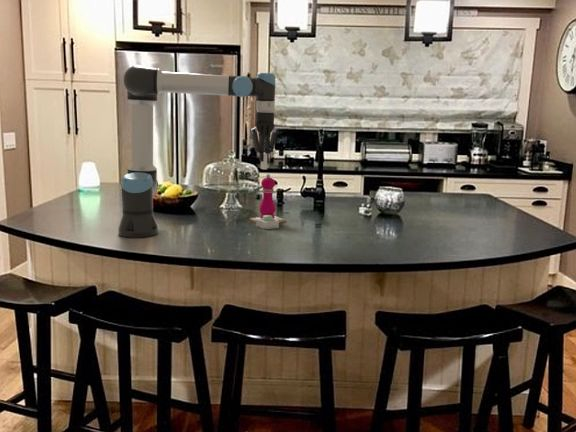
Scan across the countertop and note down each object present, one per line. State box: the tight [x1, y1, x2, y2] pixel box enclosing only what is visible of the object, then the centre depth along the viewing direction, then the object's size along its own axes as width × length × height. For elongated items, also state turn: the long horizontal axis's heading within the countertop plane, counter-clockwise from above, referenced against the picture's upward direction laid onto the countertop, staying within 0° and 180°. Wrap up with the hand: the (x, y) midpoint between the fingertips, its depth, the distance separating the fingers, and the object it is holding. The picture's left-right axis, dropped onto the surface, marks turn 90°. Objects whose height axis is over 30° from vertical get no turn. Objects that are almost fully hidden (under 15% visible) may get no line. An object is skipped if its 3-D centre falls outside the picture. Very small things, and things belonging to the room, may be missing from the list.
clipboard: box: [248, 215, 287, 224], centre depth 255 cm, size 13×10×1 cm
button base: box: [255, 218, 280, 230], centre depth 245 cm, size 7×7×3 cm
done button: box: [263, 215, 272, 222], centre depth 244 cm, size 4×4×4 cm
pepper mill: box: [258, 173, 276, 219], centre depth 253 cm, size 7×7×20 cm
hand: (263, 169), depth 241 cm, fingers closed
